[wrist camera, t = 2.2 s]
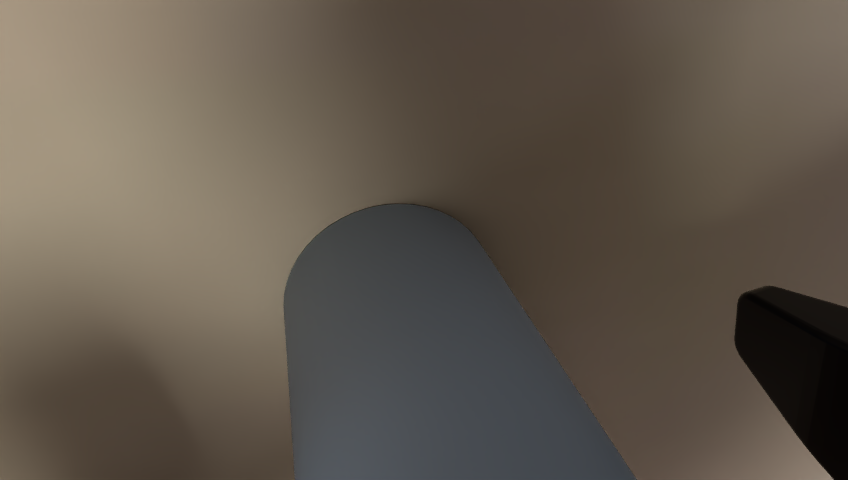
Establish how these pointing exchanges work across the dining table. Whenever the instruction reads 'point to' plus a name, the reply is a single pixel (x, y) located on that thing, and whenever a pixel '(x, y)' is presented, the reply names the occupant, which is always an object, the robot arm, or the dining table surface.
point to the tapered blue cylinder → (425, 363)
